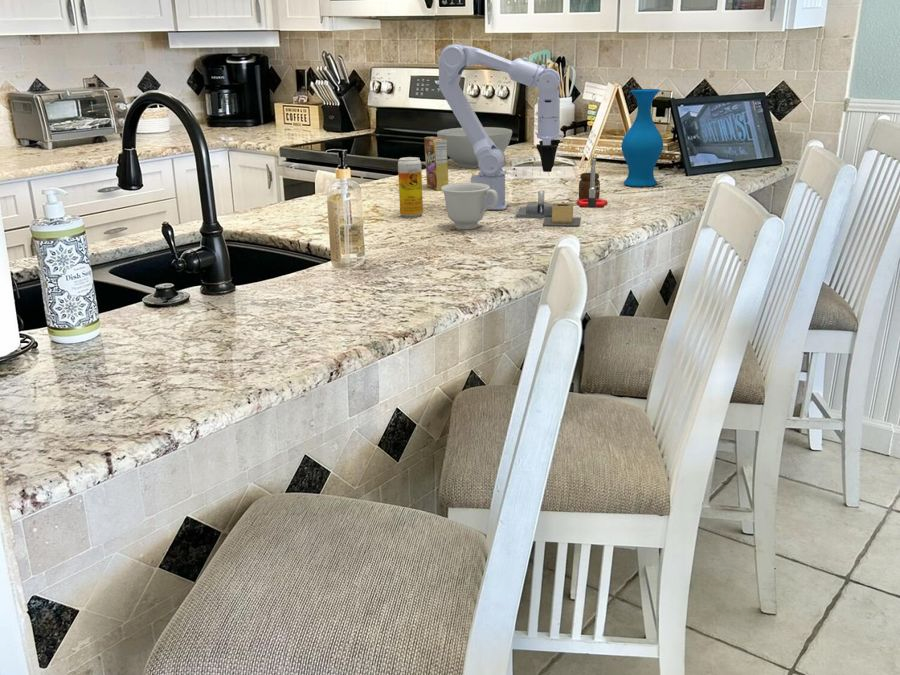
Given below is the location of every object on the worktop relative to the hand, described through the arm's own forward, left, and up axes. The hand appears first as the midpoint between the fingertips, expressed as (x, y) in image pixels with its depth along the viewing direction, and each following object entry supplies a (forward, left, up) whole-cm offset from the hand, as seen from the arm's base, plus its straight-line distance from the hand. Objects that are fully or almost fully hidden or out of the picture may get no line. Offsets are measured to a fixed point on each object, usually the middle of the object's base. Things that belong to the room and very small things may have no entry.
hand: (548, 169), depth 225 cm
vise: (-1, -8, -10) cm, 13 cm away
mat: (+5, -18, -10) cm, 21 cm away
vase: (+26, +37, -11) cm, 46 cm away
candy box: (-36, +29, -11) cm, 48 cm away
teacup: (-17, -25, -11) cm, 32 cm away
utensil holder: (+11, +14, -11) cm, 21 cm away
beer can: (-35, -12, -11) cm, 39 cm away
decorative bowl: (-31, +75, -11) cm, 82 cm away
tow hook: (+12, +6, -11) cm, 17 cm away
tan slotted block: (+5, -18, -10) cm, 21 cm away
